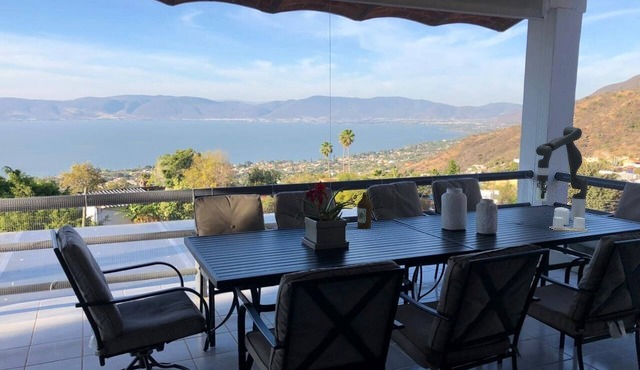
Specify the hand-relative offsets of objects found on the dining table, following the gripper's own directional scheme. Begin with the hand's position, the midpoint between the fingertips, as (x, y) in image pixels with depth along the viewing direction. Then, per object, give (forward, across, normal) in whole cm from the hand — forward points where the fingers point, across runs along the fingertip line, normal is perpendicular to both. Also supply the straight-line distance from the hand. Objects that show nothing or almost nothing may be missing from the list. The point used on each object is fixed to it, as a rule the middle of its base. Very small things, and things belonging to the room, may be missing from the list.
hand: (541, 198), depth 350 cm
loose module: (+2, 0, 0) cm, 2 cm away
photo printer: (+21, +13, -20) cm, 32 cm away
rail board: (+21, -7, -17) cm, 28 cm away
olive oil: (+21, -16, +125) cm, 128 cm away
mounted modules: (+20, -7, -17) cm, 27 cm away
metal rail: (+21, -7, -17) cm, 28 cm away
